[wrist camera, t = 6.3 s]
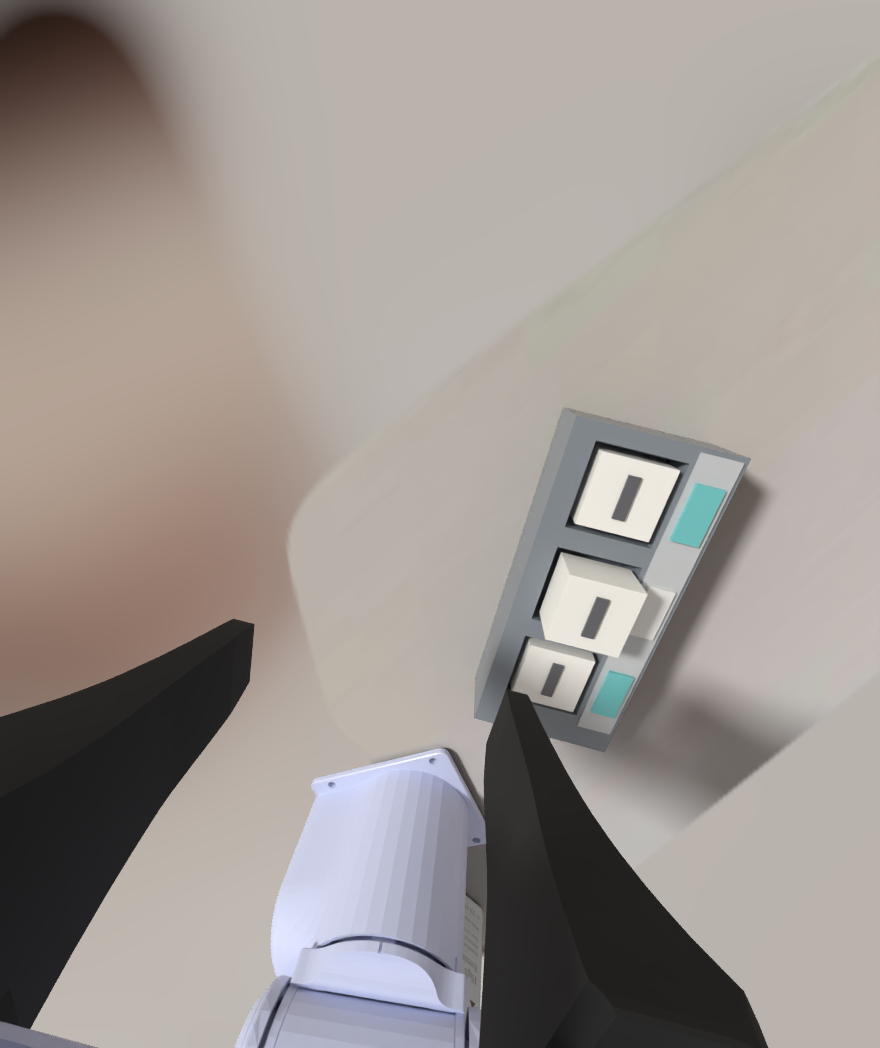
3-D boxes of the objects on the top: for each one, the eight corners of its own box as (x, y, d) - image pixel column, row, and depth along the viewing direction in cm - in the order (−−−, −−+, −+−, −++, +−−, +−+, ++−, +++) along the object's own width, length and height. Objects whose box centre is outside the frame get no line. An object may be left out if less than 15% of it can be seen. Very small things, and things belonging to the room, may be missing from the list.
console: (591, 707, 24) (605, 756, 21) (475, 677, 24) (474, 722, 21) (712, 444, 19) (754, 460, 16) (563, 407, 19) (577, 416, 16)
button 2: (632, 524, 19) (649, 543, 17) (566, 507, 19) (575, 524, 17) (659, 458, 18) (681, 471, 16) (589, 441, 18) (602, 451, 16)
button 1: (565, 681, 23) (573, 713, 21) (509, 667, 23) (511, 697, 21) (585, 634, 22) (596, 663, 20) (526, 619, 22) (530, 646, 20)
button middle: (605, 628, 20) (618, 659, 17) (539, 611, 20) (545, 640, 18) (630, 569, 18) (648, 595, 16) (561, 552, 18) (570, 575, 16)
